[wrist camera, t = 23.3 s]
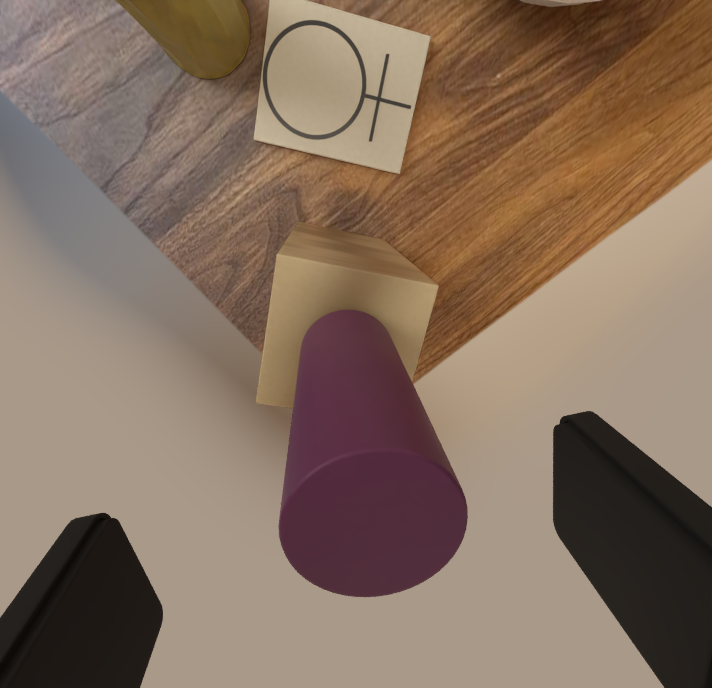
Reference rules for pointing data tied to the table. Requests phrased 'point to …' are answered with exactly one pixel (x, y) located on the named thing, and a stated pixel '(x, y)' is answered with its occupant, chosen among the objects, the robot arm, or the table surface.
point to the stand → (339, 299)
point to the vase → (196, 32)
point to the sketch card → (338, 84)
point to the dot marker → (364, 467)
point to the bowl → (557, 2)
